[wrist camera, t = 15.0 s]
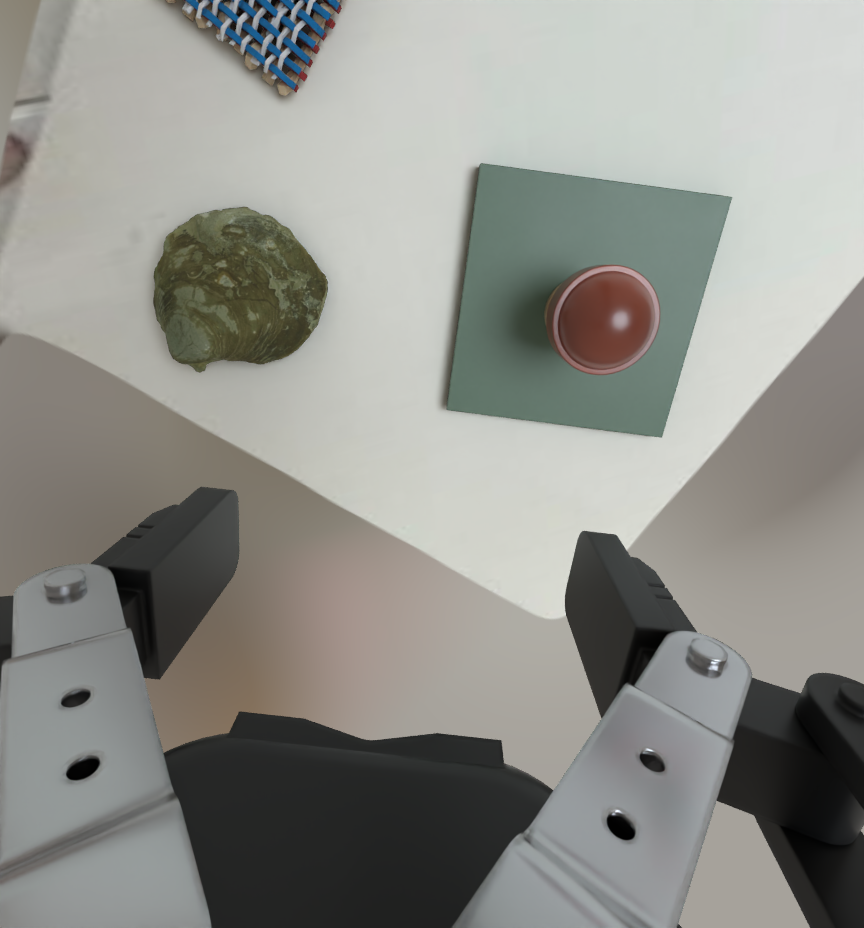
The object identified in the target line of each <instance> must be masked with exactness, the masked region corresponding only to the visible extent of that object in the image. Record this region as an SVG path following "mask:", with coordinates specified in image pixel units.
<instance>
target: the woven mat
mask: <svg viewBox="0 0 864 928" xmlns="http://www.w3.org/2000/svg"><path fill="white" fill-rule="evenodd" d="M166 1H167V2H168V3H176V0H166ZM184 1H185V4H184V6H183V8H182V9H183V11H182V13H183V14H184V15H186V16H187V17H188V18H189V19H191V20H192V21H193V20H194V17H195V19H196V22H197V25H198V28H207V27H211V25H212V24H213V25H214V26H215V27H217V33H216V34H217V35H216V37H217V39H218V41H220V40H221V41H222V42H223V40H224V41H227V39H228V37H229V38H230V39H231V41H230V43H229V44H231V45H234V46H233V48H234V49H235V50H236V51H237V52H238V53H239V54H240V55H242V56H243V54H244V52H245V51H246V52H247V53H246V57H245V65H246V66H247V67H248V68H249V69H250V70H252V69H257V66H258V65H260V64H262V65H263V66H264V70H263V71H264V74H263V76H262V78H263V79H264V80H265V81H266V82H267V83H269V84H270V85H271V86H272V85H273V83H274V81H275V79H276V78H277V77H278V78H279V79H280V80H281V82H280V83H279V84H277V86H278V90H279V94H281V95H285V96H286V95H287V94H288V93H290V92H291V91H292V90H294V91H295V92H297V90H298V88H299V87H298V85H296V83H297V81H298V79H299V77H300V78H301V79H302V80H303V81H305V80H306V78H307V75H306V74H305V73H304V72H303V70H304V68H305V66H306V65H307V66H309V67H311V65H312V63H313V61H312V60H311V59H310V57H311V55H312V53H313V52H314V53H316V54H317V53H318V51H319V47H318V46H317V44H318V42H319V40H320V38H321V39H322V40H323V41H324V39H325V38H326V36H327V35H326V33H325V31H324V27H325V25H327V26H328V27H330V28H332V29H333V28H334V26H335V22H334V21H333V20H332V19H331V18H330V16H331V15H332V14H333V13H334V11H336V12H337V13H338V14H339V12H340V10H341V9H342V8H341V6H340V1H341V0H323V1H324V2H323V3H321V4H320V5H319V4H317V3H316V2H315V1H316V0H299V2H298V3H297V4H296V5H295V4H294V3H293V2H294V1H295V0H276V1H277V3H276V5H275V7H273V6H272V5H271V0H249V5H248V4H247V3H246V1H247V0H227V1H226V2H224V0H203V1H202V2H201V0H184ZM200 2H201V3H200ZM223 2H224V3H223ZM241 10H242V11H244V13H243V14H242V15H241V16H240V17H238V16H237V15H236V14H238V13H239V12H240V11H241ZM219 11H220V13H219ZM287 11H290V12H291V15H290V16H288V17H286V16H285V15H286V13H287ZM196 12H197V15H196ZM266 12H267V13H268V14H269V15H270V17H269V19H268V21H267V20H265V19H264V18H262V16H263V15H264V14H265V13H266ZM311 12H312V13H313V14H314V15H313V19H312V18H311V17H310V13H311ZM218 13H219V17H218V18H217V15H218ZM195 15H196V16H195ZM244 21H245V22H244ZM231 23H234V24H235V25H237V26H236V31H235V32H234V31H233V30H231V29H230V28H231ZM258 24H259V25H260V26H261V27H263V28H264V29H263V31H262V33H261V35H260V34H259V33H258V32H257V28H258ZM280 25H282V26H283V28H282V32H281V33H280V32H279V31H278V29H279V27H280ZM304 25H306V26H307V27H308V28H309V29H311V30H310V32H309V34H308V35H307V34H305V33H304V32H303V31H302V30H300V29H301V28H302V27H303V26H304ZM273 38H276V39H277V43H276V46H274V45H273V44H272V43H271V42H272V40H273ZM252 39H254V40H255V42H254V43H252V44H251V45H249V42H250V41H251V40H252ZM296 39H298V40H299V41H301V42H302V43H303V45H302V47H301V49H300V48H299V47H298V46H297V45H296V44H295V42H296ZM267 52H270V53H271V54H272V55H271V56H270V57H269V58H268V59H266V58H265V57H264V56H265V53H267ZM290 52H292V53H293V54H294V55H296V56H297V57H296V59H295V60H294V62H293V61H292V60H290V59H289V58H288V57H287V56H288V55H289V53H290ZM283 64H284V65H285V66H287V67H288V68H289V69H290V70H289V72H288V74H287V75H286V74H285V73H283V72H282V71H281V70H282V66H283Z"/></svg>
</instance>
